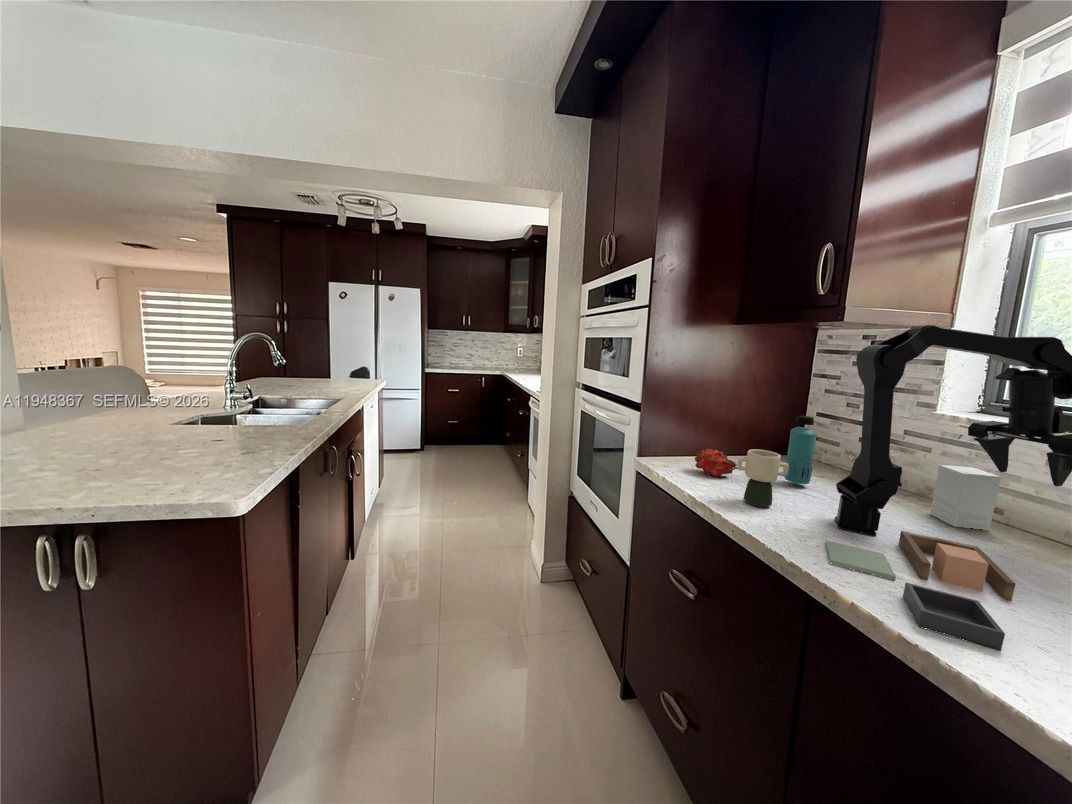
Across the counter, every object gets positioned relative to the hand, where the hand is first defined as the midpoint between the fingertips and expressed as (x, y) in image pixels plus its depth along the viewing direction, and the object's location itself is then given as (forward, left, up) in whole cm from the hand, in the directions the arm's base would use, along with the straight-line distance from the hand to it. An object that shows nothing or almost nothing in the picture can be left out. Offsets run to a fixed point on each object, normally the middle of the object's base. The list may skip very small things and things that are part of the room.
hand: (1029, 478), depth 82 cm
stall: (-15, -21, -15) cm, 29 cm away
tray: (-21, -41, -15) cm, 48 cm away
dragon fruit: (-58, +11, -15) cm, 61 cm away
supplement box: (-5, +10, -15) cm, 19 cm away
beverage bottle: (-37, +16, -15) cm, 43 cm away
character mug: (-46, -7, -15) cm, 49 cm away
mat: (-29, -27, -15) cm, 42 cm away
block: (-15, -24, -15) cm, 32 cm away
